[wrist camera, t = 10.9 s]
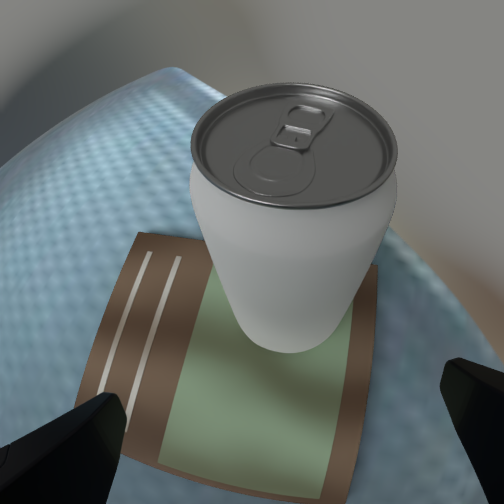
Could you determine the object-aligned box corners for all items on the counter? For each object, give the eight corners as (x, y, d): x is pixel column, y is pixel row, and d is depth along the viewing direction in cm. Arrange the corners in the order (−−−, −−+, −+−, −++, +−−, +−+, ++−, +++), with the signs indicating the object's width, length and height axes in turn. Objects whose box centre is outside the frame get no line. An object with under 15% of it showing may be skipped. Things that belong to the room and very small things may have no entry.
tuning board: (341, 502, 12) (344, 506, 11) (77, 427, 15) (68, 426, 14) (373, 272, 19) (377, 264, 18) (143, 239, 22) (138, 231, 22)
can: (215, 329, 17) (126, 181, 7) (261, 242, 20) (240, 68, 10) (320, 372, 15) (397, 267, 5) (355, 274, 18) (416, 105, 8)
